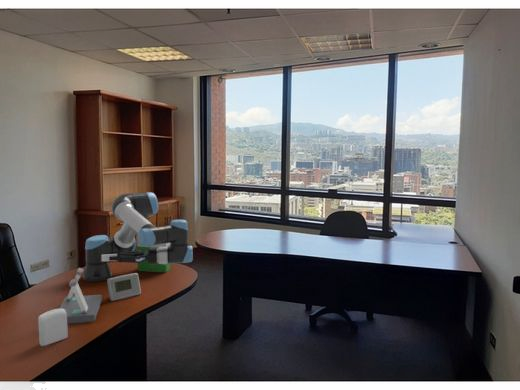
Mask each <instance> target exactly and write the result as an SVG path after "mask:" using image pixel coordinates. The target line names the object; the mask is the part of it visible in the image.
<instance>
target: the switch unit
mask: <svg viewBox="0 0 520 390" xmlns="http://www.w3.org/2000/svg"><path fill="white" fill-rule="evenodd" d="M67 297H68V296H65V297H64V299H63V301H62V302H61V303H60V306H59V307H58V309H65V310H66V313H67V324H77V323H91V322H93V323H94V322H95V321H96V318H97V315H98V312H99V309H100V307H101V304H102V301H103V300H102V294H93V295H92V294H90V295H83V297H84V299H85V301H86V304H87V306H88V310H87V312H86V313H85V314H83V313H82V311H81V309H80V306H79V304H78V302H77V299H76V297H75V295H72V298H71V300H70V301H69V302H68V301H66V299H67Z"/></svg>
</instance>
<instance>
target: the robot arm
mask: <svg viewBox="0 0 520 390" xmlns="http://www.w3.org/2000/svg"><path fill="white" fill-rule="evenodd" d="M111 212H112V214H113V216H114V217H115V218H116V219H117V220H119V221H123V224H122V226H121V228H120V230H118V231H116V232H115V233H114V236H108V235H106V234H100V235H99V234H98V235H93V236H91V237H89V238H86V241H85V244H84V245H85V247H84V250H85V267H84V271H83V273H82V280H84V281H85V282H92V283H93V282H94V283H96V282H102V281H107V279H109V278H113V277H112V275H113V274H112V271H111V266H110V264H109V262H118V263H130V264H131V263H134V264H138V263H141V262H144V261H146V260H148V263H149V264H157V263H159V264H164V265H165V264H168V263H170V264H186V263H191V262H192V261H193V260H194V259H193V257H194V255H193V254H194V253H193V251H194V250H193V246H192V245H189V238H188V237H189V225H188V221H187V220H186V219H173V220H172V219H171V221H170V225H162V226H156V225H154V224H152V222H150V221H149V218H150V216H151V215H156V214H157V213H158V212H159V202H158V198H157V195H156V194H155V193H154V192H151V191H150V192H149V191H146V192H133V193H132V192H131V193H122V194H120V195H118V196H117V197H116V198H115V199H114V200H113V202H112V204H111ZM137 234H138V241H139V244H140V245H141V246H152V245H158V244H164V243H170V247H158V248H156V247H150V248H149V249H148V252H144V251H143V250H139V251H138V250H136V248H137V247H136V246H137V240H136V237H135V236H137Z"/></svg>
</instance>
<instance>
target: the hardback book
mask: <svg viewBox="0 0 520 390" xmlns="http://www.w3.org/2000/svg"><path fill="white" fill-rule="evenodd" d="M136 237H137V238H136V239H137V240H136V246H137V251H139V250H143V251H144V252H148V249H149V248H150V247H156V248H158V247H171V243H164V244H158V245H152V246H141V245H140V244H139V241H138V234H137V233H136ZM170 270H171V263H168V264H165V265H164V264H159V263H157V264H149V263H148V260H146V261H144V262H141V263H137V271H138V272H150V273H151V272H153V273H168V272H169V271H170Z"/></svg>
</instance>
